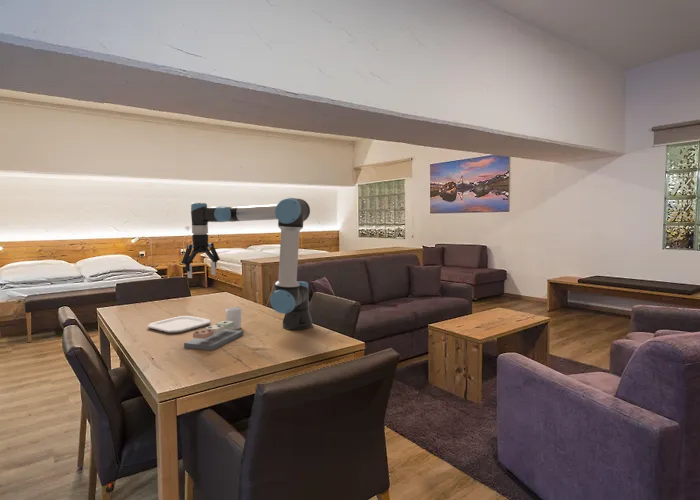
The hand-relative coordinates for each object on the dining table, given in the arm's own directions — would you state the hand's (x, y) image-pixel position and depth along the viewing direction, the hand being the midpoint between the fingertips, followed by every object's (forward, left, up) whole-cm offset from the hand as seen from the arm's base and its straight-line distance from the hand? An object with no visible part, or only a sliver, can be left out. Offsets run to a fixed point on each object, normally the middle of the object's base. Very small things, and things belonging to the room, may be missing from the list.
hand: (202, 276), depth 207 cm
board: (-20, +18, -26) cm, 37 cm away
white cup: (-16, -3, -27) cm, 31 cm away
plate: (+13, +2, -27) cm, 30 cm away
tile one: (-20, +10, -22) cm, 31 cm away
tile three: (-20, +26, -22) cm, 39 cm away
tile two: (-20, +18, -22) cm, 34 cm away
